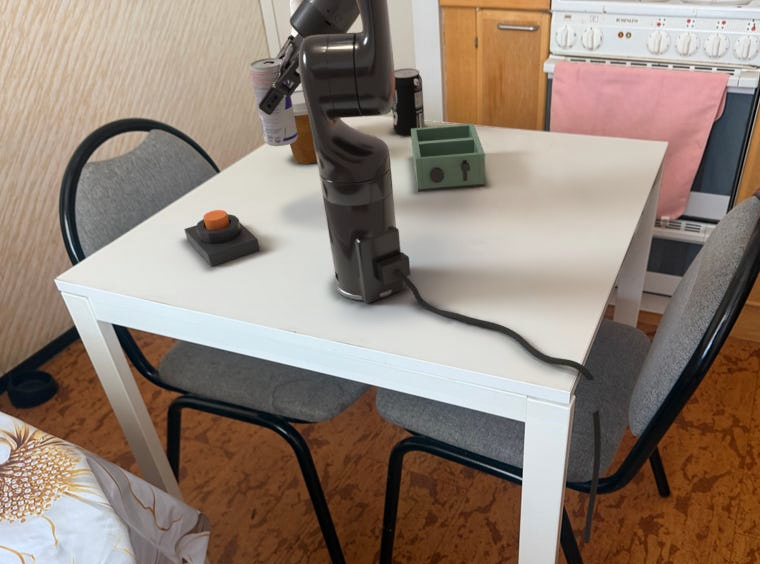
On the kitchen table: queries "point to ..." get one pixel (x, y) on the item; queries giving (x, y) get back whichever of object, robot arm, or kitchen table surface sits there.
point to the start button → (216, 219)
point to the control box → (222, 241)
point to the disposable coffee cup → (302, 131)
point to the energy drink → (281, 121)
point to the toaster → (447, 157)
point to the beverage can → (408, 101)
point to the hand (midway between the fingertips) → (263, 104)
